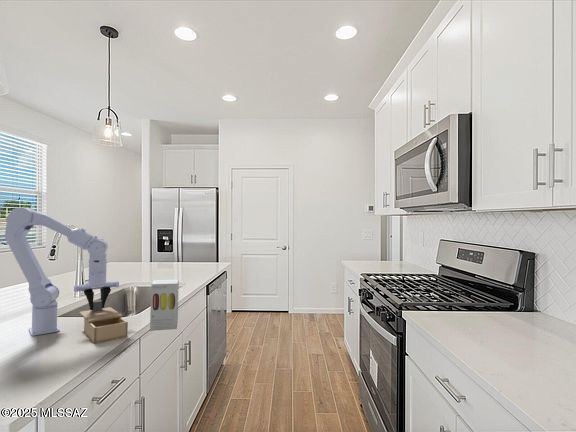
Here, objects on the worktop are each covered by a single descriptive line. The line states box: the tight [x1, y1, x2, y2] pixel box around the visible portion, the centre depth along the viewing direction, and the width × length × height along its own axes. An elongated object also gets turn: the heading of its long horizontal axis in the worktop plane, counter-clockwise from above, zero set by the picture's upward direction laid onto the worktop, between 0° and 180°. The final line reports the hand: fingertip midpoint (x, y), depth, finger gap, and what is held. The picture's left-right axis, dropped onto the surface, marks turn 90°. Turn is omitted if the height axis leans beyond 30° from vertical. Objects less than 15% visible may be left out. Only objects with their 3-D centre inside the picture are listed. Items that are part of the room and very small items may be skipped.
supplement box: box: [149, 278, 180, 332], centre depth 125 cm, size 10×9×17 cm
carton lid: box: [78, 299, 123, 322], centre depth 120 cm, size 14×10×4 cm
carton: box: [83, 317, 129, 345], centre depth 115 cm, size 14×10×5 cm
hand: (96, 308), depth 124 cm, fingers closed on carton lid, 3 cm apart
